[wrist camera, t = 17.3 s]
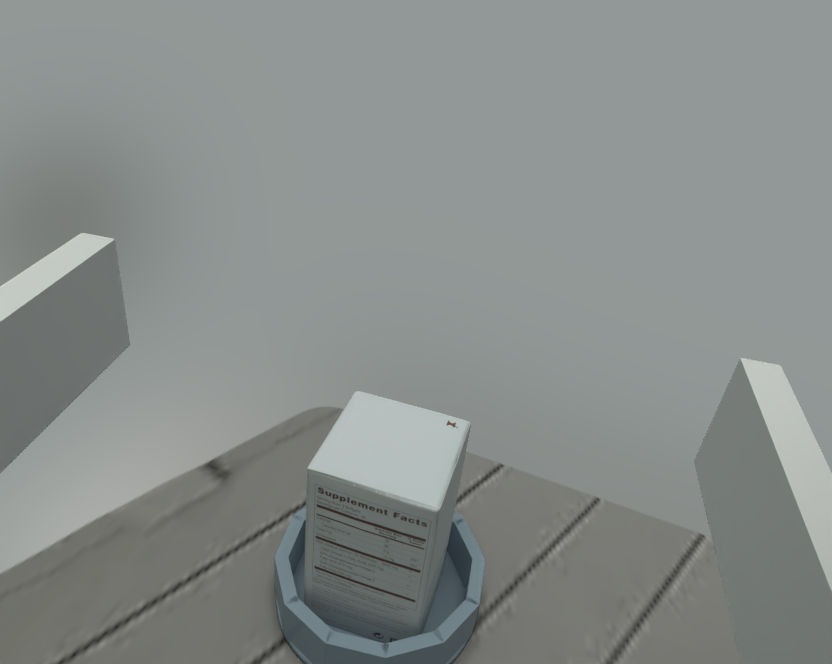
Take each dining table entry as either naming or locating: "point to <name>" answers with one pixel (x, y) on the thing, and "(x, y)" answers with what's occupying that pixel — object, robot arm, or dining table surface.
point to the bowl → (366, 658)
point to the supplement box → (381, 516)
